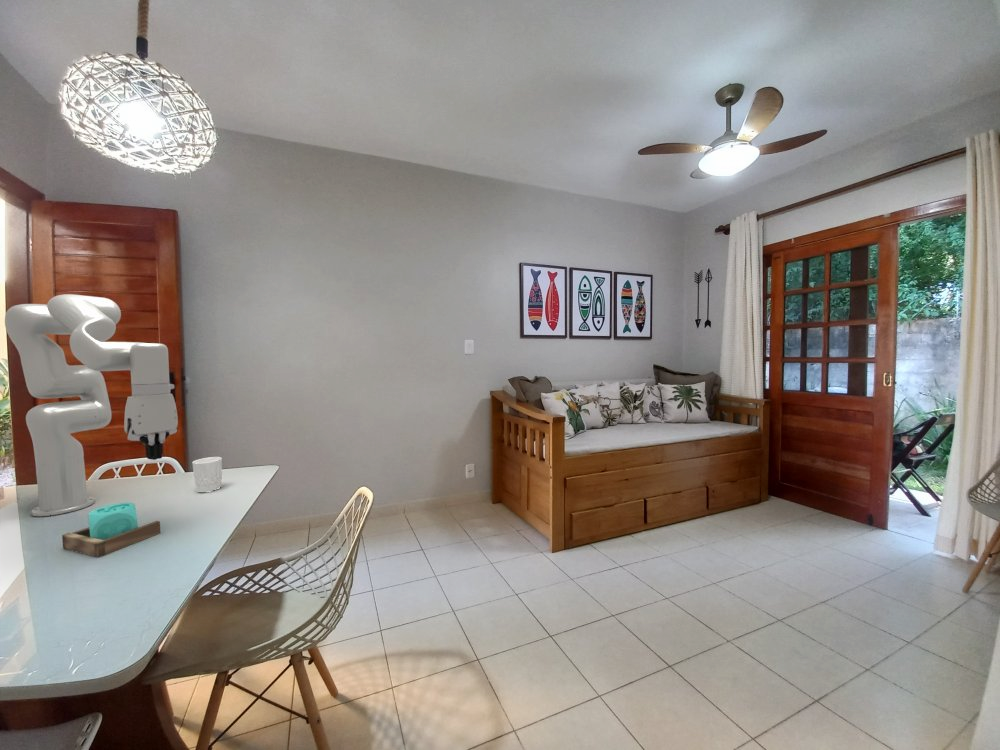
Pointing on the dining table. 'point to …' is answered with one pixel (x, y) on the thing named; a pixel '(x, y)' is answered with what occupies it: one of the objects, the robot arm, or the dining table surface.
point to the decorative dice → (112, 520)
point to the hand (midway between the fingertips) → (154, 458)
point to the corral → (107, 540)
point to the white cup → (207, 473)
